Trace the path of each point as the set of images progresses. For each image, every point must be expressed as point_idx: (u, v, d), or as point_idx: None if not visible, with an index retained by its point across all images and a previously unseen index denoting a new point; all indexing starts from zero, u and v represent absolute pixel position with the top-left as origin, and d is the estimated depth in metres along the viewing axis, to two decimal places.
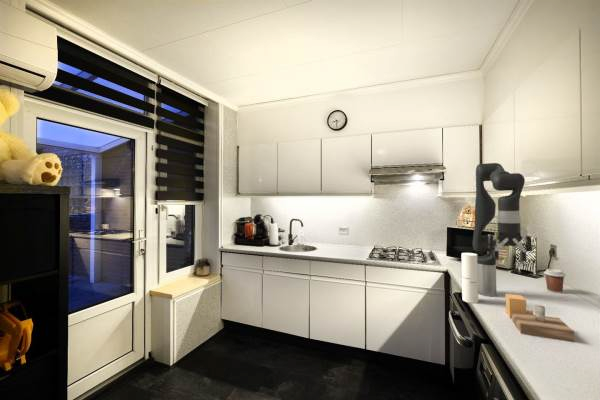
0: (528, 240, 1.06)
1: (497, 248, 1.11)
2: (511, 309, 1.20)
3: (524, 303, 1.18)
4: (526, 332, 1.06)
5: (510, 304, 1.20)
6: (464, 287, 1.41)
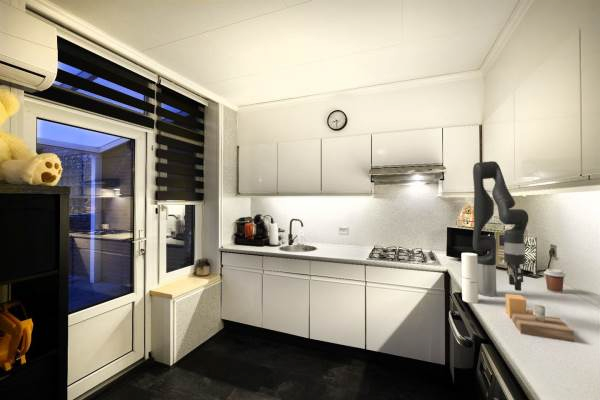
0: None
1: None
2: (511, 309, 1.20)
3: (524, 303, 1.18)
4: (526, 332, 1.06)
5: (510, 304, 1.20)
6: (464, 287, 1.41)
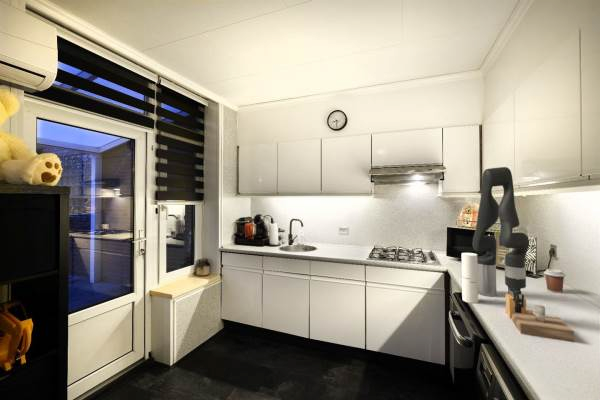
0: None
1: None
2: (511, 309, 1.20)
3: (524, 303, 1.18)
4: (526, 332, 1.06)
5: (510, 304, 1.20)
6: (464, 287, 1.41)
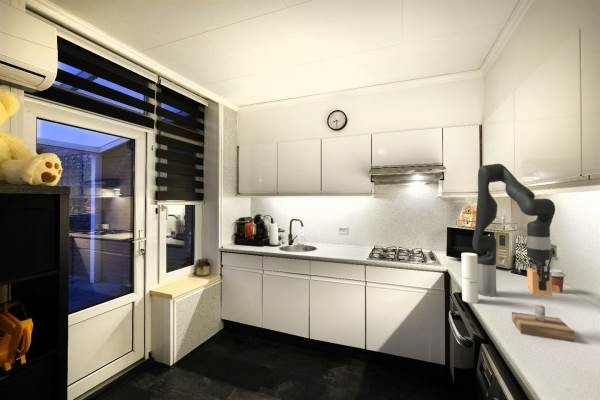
0: None
1: None
2: (534, 284, 1.07)
3: None
4: (526, 332, 1.06)
5: (533, 278, 1.07)
6: (464, 287, 1.41)
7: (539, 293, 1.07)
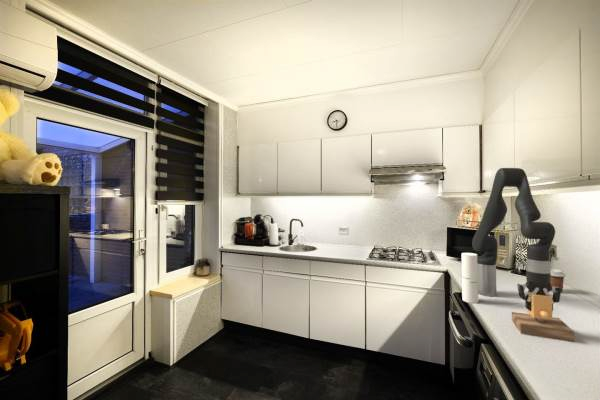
0: (558, 292, 1.06)
1: (530, 299, 1.09)
2: None
3: (532, 299, 1.08)
4: (526, 332, 1.06)
5: None
6: (464, 287, 1.41)
7: (529, 312, 1.11)
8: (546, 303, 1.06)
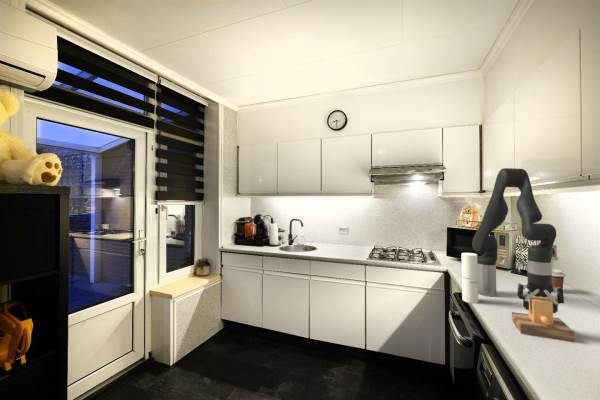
0: (560, 292, 1.05)
1: (527, 298, 1.10)
2: None
3: (533, 303, 1.08)
4: (526, 332, 1.06)
5: None
6: (464, 287, 1.41)
7: (530, 317, 1.11)
8: (547, 308, 1.06)
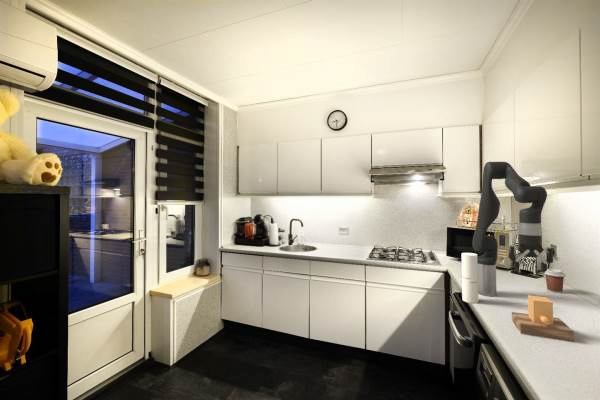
0: (549, 252, 1.09)
1: (518, 259, 1.13)
2: (528, 307, 1.12)
3: (533, 303, 1.08)
4: (526, 332, 1.06)
5: (528, 302, 1.13)
6: (464, 287, 1.41)
7: (530, 317, 1.11)
8: (547, 308, 1.06)
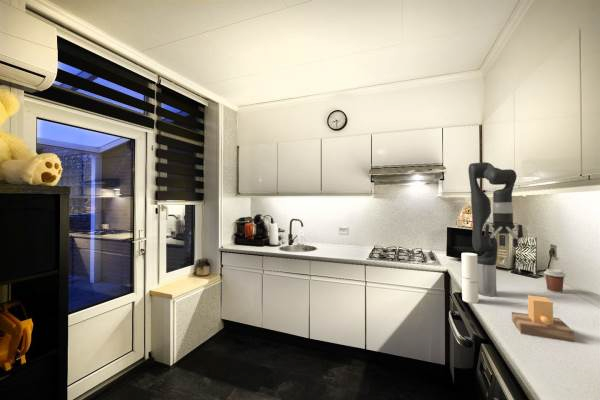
0: (519, 228, 1.21)
1: (492, 235, 1.25)
2: (528, 307, 1.12)
3: (533, 303, 1.08)
4: (526, 332, 1.06)
5: (528, 302, 1.13)
6: (464, 287, 1.41)
7: (530, 317, 1.11)
8: (547, 308, 1.06)
